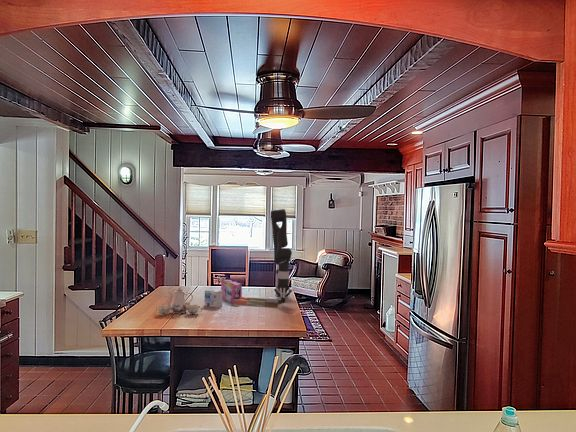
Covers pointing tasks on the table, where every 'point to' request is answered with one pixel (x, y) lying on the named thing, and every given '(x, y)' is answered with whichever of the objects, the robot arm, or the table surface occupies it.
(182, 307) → the chinaware
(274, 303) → the track
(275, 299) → the slate block
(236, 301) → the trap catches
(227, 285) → the gum box
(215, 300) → the light bulb box
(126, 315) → the table surface
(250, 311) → the table surface
